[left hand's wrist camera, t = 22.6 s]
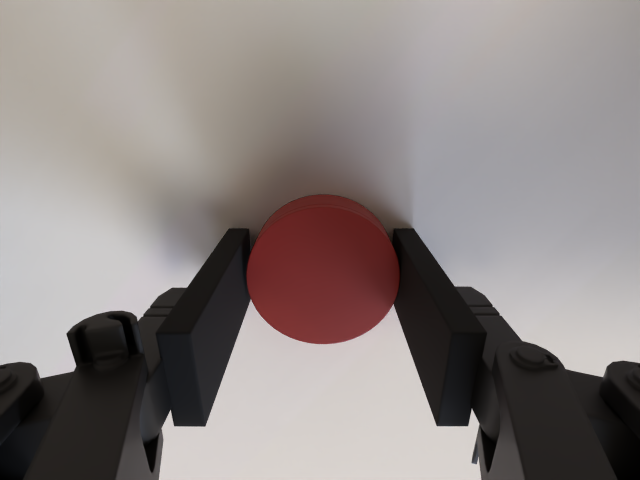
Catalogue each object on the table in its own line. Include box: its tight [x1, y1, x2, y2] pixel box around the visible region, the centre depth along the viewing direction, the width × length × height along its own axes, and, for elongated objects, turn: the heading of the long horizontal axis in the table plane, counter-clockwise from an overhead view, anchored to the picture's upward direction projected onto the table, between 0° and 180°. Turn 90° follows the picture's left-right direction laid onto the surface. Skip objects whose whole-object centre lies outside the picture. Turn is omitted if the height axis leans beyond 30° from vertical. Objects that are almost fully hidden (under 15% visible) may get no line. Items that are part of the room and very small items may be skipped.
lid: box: [246, 195, 400, 344], centre depth 13 cm, size 5×5×2 cm
